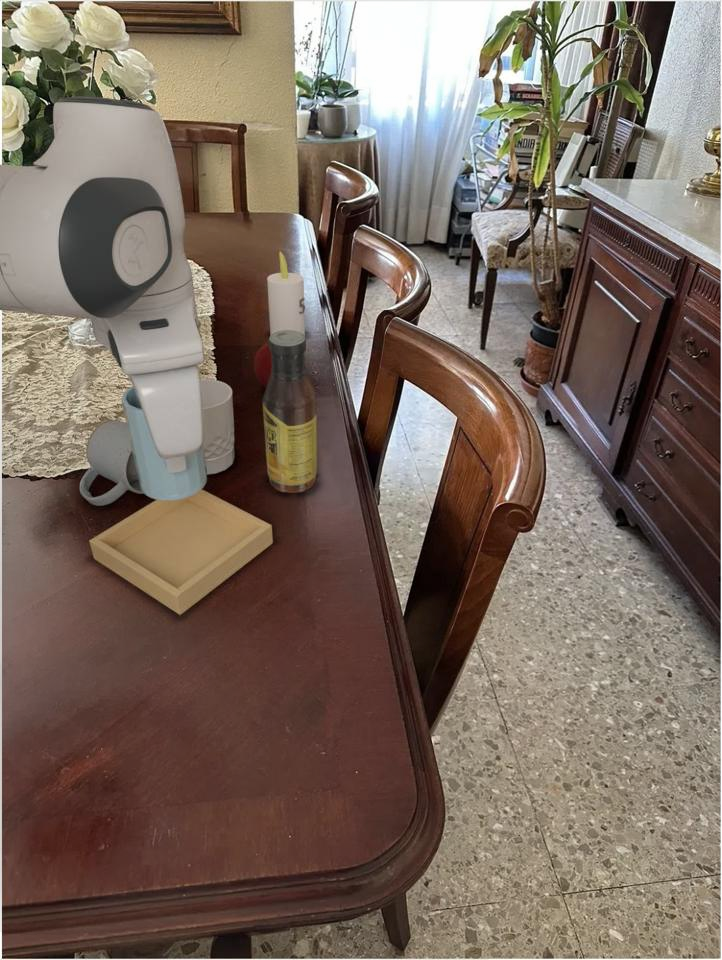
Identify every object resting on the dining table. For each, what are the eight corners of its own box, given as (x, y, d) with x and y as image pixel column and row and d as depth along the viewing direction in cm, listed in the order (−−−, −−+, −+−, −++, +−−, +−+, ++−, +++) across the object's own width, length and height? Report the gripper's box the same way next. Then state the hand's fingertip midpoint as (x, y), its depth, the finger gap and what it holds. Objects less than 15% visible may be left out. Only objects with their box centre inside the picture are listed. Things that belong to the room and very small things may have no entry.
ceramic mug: (133, 455, 88) (121, 404, 83) (178, 474, 84) (169, 423, 80) (66, 496, 80) (50, 443, 76) (113, 519, 77) (98, 465, 72)
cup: (171, 509, 64) (154, 419, 58) (126, 484, 67) (106, 397, 61) (220, 477, 68) (210, 391, 62) (177, 456, 71) (162, 372, 65)
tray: (180, 615, 65) (176, 596, 63) (93, 558, 71) (88, 540, 70) (273, 543, 74) (271, 525, 73) (189, 498, 80) (186, 481, 79)
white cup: (233, 478, 84) (226, 409, 78) (171, 477, 84) (159, 408, 78) (243, 445, 90) (237, 379, 85) (185, 444, 90) (175, 378, 85)
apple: (255, 402, 100) (251, 354, 96) (255, 378, 107) (252, 331, 102) (305, 400, 101) (304, 352, 97) (302, 377, 108) (301, 330, 103)
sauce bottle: (267, 469, 86) (257, 323, 74) (316, 467, 87) (313, 322, 75) (268, 499, 81) (257, 348, 69) (319, 496, 81) (317, 346, 70)
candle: (294, 344, 118) (291, 260, 109) (263, 337, 120) (258, 254, 112) (312, 332, 123) (310, 250, 114) (281, 325, 125) (278, 244, 116)
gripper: (92, 278, 63) (119, 405, 71) (123, 366, 48) (153, 513, 56) (159, 271, 66) (178, 394, 74) (208, 352, 51) (226, 496, 59)
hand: (167, 447), depth 65 cm, fingers closed on cup, 7 cm apart
